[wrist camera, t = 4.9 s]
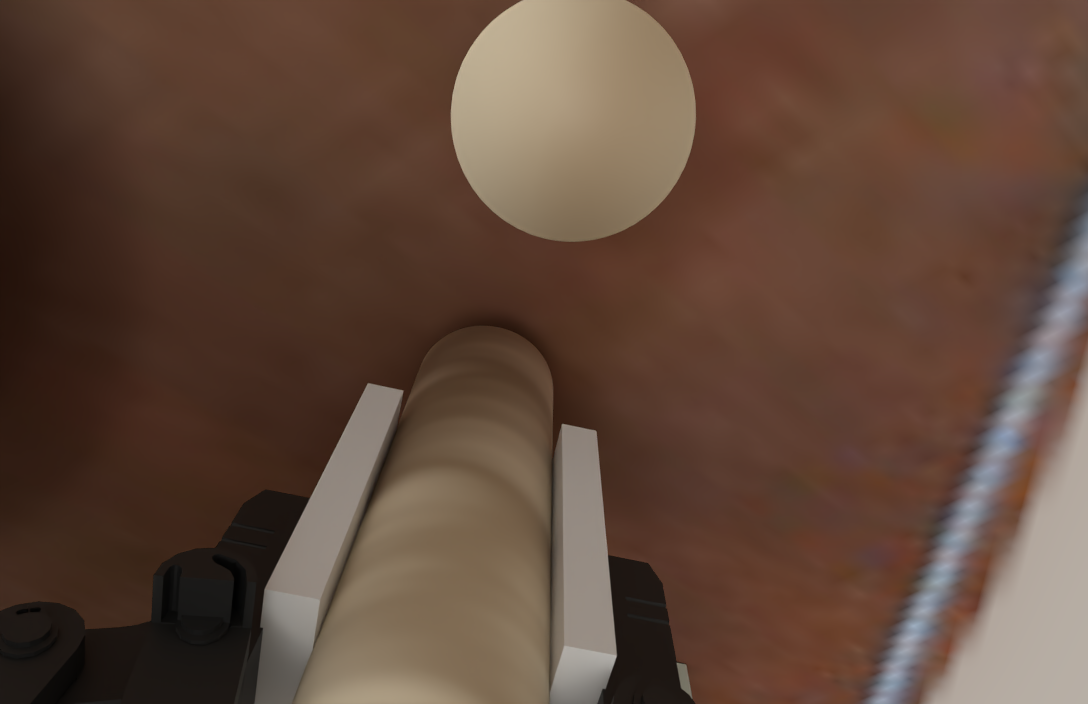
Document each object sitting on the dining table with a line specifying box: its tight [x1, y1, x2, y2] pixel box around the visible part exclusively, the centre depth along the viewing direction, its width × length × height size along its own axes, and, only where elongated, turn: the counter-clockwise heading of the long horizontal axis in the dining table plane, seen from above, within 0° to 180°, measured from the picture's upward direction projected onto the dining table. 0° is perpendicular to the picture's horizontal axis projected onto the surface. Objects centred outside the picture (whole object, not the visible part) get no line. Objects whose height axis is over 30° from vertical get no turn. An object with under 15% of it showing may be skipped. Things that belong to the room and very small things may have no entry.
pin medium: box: [451, 0, 696, 242], centre depth 16 cm, size 4×4×9 cm
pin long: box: [292, 326, 553, 704], centre depth 14 cm, size 4×4×14 cm
